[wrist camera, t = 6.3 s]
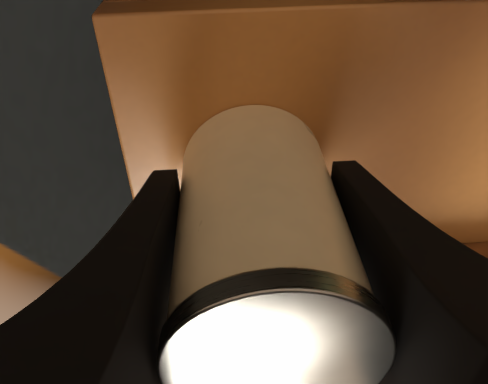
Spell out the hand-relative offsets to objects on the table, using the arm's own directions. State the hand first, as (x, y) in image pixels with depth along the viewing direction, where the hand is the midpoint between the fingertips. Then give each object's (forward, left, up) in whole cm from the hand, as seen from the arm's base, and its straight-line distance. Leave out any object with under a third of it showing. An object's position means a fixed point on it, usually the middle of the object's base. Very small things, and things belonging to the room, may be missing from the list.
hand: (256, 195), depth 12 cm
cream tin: (0, 0, -1) cm, 1 cm away
